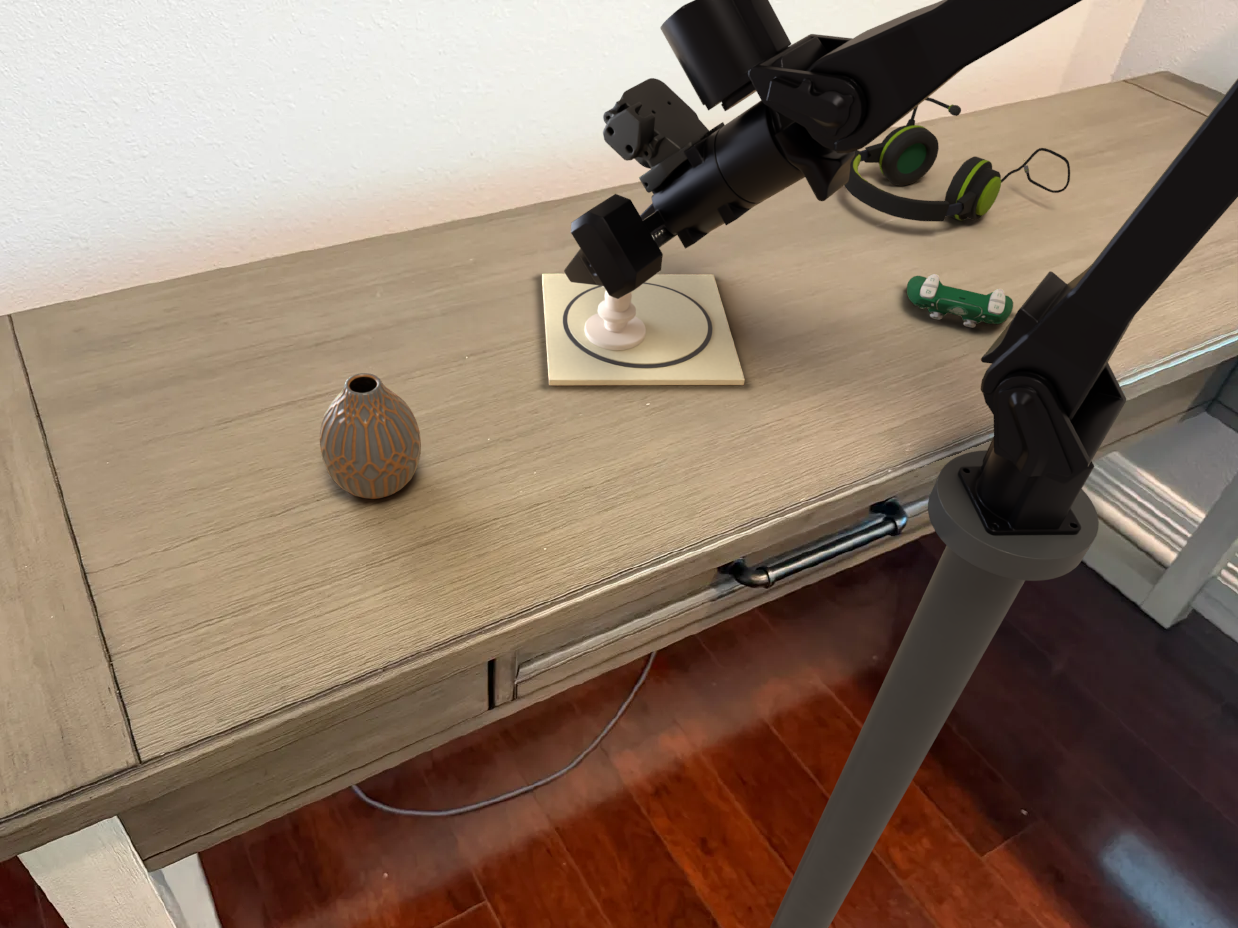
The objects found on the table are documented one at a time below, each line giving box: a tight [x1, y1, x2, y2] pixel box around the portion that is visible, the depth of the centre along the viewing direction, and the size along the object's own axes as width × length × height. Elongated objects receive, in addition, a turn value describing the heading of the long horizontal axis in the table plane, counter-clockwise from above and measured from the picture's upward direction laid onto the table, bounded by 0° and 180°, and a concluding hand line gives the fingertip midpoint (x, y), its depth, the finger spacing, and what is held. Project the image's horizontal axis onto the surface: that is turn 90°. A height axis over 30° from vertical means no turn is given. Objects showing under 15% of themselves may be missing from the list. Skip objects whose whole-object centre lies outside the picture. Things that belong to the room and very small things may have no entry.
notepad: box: [541, 273, 746, 386], centre depth 85 cm, size 16×16×1 cm
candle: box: [584, 286, 646, 350], centre depth 80 cm, size 5×5×10 cm
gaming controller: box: [906, 273, 1014, 328], centre depth 87 cm, size 9×4×6 cm
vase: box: [319, 372, 422, 500], centre depth 68 cm, size 7×7×9 cm
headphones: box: [843, 96, 1071, 222], centre depth 100 cm, size 16×10×20 cm
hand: (602, 252), depth 79 cm, fingers open, 9 cm apart
